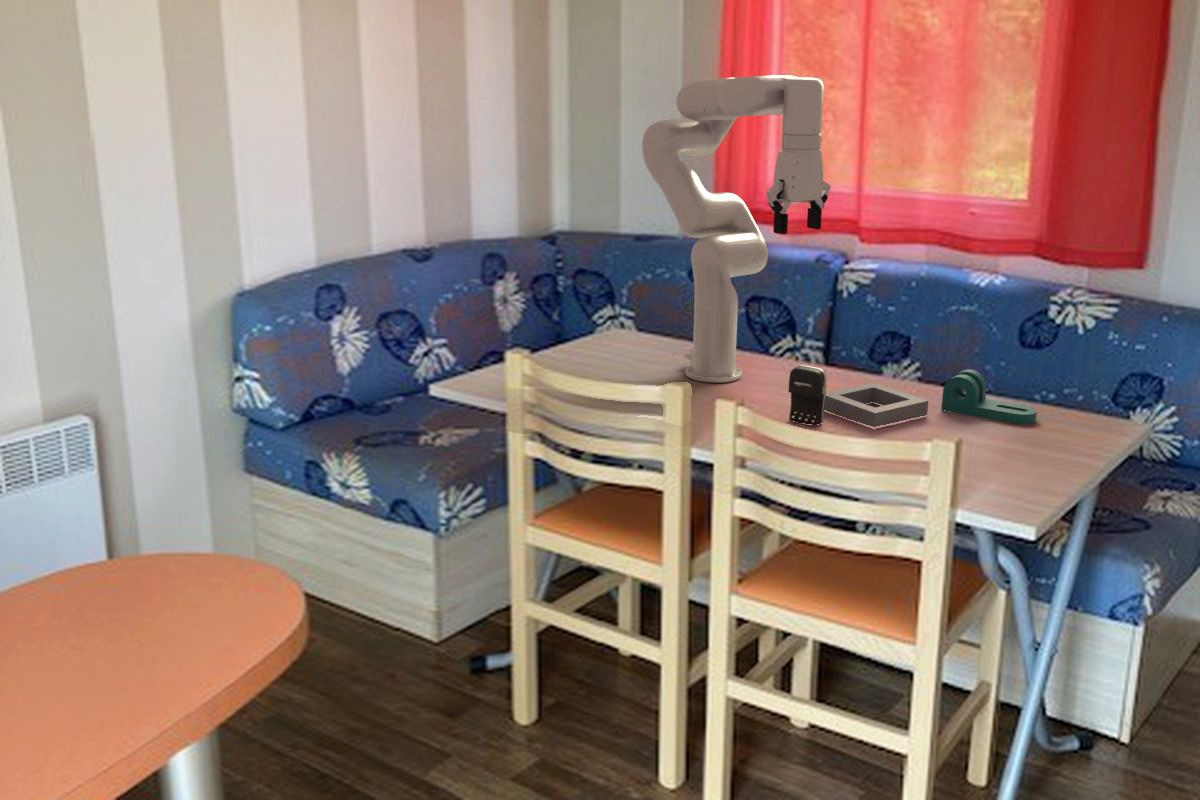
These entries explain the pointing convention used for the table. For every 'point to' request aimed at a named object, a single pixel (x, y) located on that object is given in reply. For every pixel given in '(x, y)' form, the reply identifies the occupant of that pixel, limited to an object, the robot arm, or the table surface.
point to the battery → (807, 394)
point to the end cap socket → (894, 401)
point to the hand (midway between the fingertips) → (797, 230)
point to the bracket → (981, 400)
